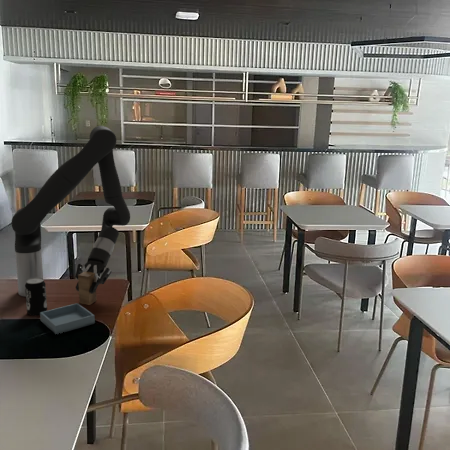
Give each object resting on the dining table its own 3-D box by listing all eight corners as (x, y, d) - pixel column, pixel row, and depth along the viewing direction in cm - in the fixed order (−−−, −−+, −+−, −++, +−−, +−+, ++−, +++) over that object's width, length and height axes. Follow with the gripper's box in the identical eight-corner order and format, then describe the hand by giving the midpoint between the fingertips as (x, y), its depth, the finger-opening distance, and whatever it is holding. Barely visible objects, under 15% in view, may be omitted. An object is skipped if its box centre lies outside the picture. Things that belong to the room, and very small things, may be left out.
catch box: (40, 320, 157) (39, 312, 156) (77, 310, 165) (77, 302, 165) (56, 334, 147) (55, 325, 146) (94, 323, 156) (94, 315, 155)
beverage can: (42, 316, 160) (40, 283, 157) (23, 316, 160) (21, 283, 157) (50, 309, 166) (48, 277, 164) (32, 308, 166) (29, 276, 164)
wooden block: (86, 299, 176) (85, 271, 174) (96, 300, 175) (95, 272, 172) (79, 303, 172) (78, 275, 170) (89, 305, 171) (88, 276, 168)
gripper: (81, 244, 178) (63, 284, 170) (114, 249, 174) (96, 290, 165) (90, 254, 184) (72, 293, 176) (121, 258, 180) (105, 298, 171)
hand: (84, 291), depth 171 cm, fingers open, 5 cm apart
